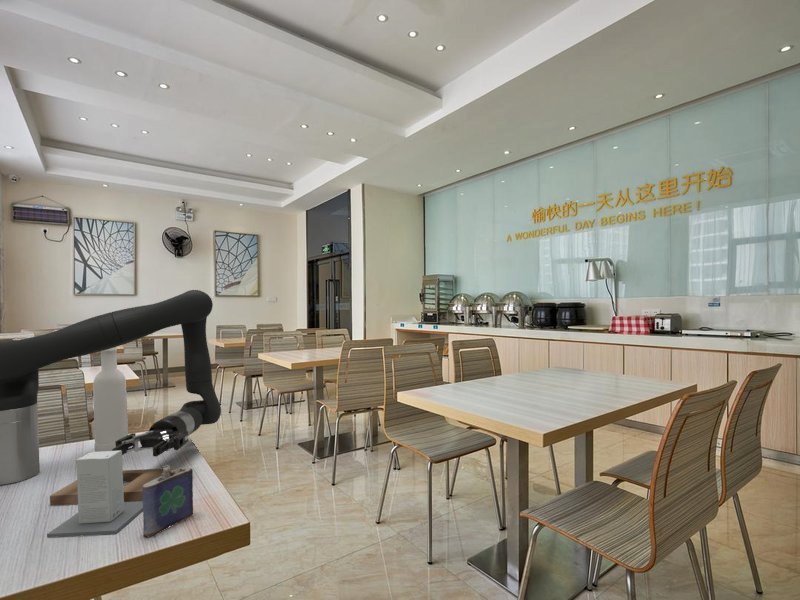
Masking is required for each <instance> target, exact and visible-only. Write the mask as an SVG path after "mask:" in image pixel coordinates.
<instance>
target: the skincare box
mask: <svg viewBox="0 0 800 600" xmlns="http://www.w3.org/2000/svg"><path fill="white" fill-rule="evenodd" d="M75 460H76V462H75V463H76V480H77V489H78V504H77V511H78V512H77V513H78V517H79V524H83V523H99V522H111V521H112V520H114V519H115V518H116V517H117V516H119V515H120V514H121V513H122V512H124V492H123V487H124V482H123V470H124V469H123V455H122V451H121V450H119V451H101V452H95V451H91V452H89V453H87V454H85V455H83V456H80V457H79V458H77V459H75Z"/></svg>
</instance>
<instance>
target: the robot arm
mask: <svg viewBox="0 0 800 600" xmlns="http://www.w3.org/2000/svg"><path fill="white" fill-rule="evenodd" d="M212 311H213V300H212V298H211V296H210V295H208V293H206V292H204V291H202V290H198V289H190V290H188V291H187V290H186V291H185V292H183V293H180V294H178V295H175V296H173V297H170V298H168V299H165V300H162V301H158V302H155V303H151V304H146V305H140V306H133V307H127V308H124V309H119V310H114V311H111V312H106V313H103V314H100V315H95V316H93V317H90V318H86V319H83V320H81V321H78V322H75V323H72V324H70V325H68V326H65V327H63V328H60V329H58V330H54V331H52V332H49V333H45V334H41V335H35V336H31V337H27V338H26V337H25V338H22V339H10V340H5V341H1V342H0V485H1V486H2V485H8V484H9V485H10V484H14V483H17V482H22V481H25V480H27V479H30V478H33V477H34V476H36V475H38V474H40V471H41V469H40V467H41V466H40V440H39V439H40V438H39V433H40V432H39V414H38V413H39V411H38V409H39V408H38V394H39V386H40V381H39V379H40V378H39V377H40V375H39V369H41V368H44V367H47V366H50V365H52V364H55V363H58V362H61V361H65V360H68V359H73V358H78V357H83V356H87V355H91V354H95V353H101V352H100V351H103V350H107V349H110V348H114V347H116V348H117V347H120V346H123V345H126V344H130V343H131V342H135V341H138V340H140V339H142V338H144V337H147V336H149V335H152V334H153V333H156V332H159V331H161V330H163V329H167V328H171V327H175V326H180V327H181V331H182V339H183V347H184V348H183V354H184V355H183V356H184V375H185V376H184V377H185V388H186V391H187V393H190V394H194V395H198V396H200V397H201V398H202V399H200V400H191V401H187V402H185V403H184V404H183V405H182V406H181V408H180V409H179V410H178V411H177V412H174V413H171V414H169V415H167V416H165V417H163V418H161V419H159V420H158V421H155V422H154V423H153V424H152V425H151V426H150V427H149V429H148V431H146V432H144V433H142V434H137V435H136V433H135V432H134V433H133V432H132V433H130V434H128V435H127V436H125V437H123V438H121V439H119V440H117V441H115V443H116V447H115V448H114V449H112V451H119V450H121V451H122V456H123V455H125V454H127V453H130V452H136V453H138V452H141V451H144V450H147V449H148V450H151V449H152V456H153V457H154V458H155V457H158V456H160V455H162V454H164V453H165V452H169V451H172V450H171V449H173V450H174V451H178V450H180V449H181V448H183V447H184V446H185V445H186V444H188V443H189V436H190V435H192V434H193V433H194V432H196V431H197V430H198V429H199V428H200V427H201V426H203V425H212V424H216V423H217V422H218V421H219V419H220V418H221V415H222V408H221V403H220V401H219V399H218V397H217V394H216V391H215V388H214V385H213V373H212V363H211V357H210V351H209V348H208V347H209V346H208V340H207V318H208V317H209V315H210V314H211V312H212ZM139 445H140V446H139Z"/></svg>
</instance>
